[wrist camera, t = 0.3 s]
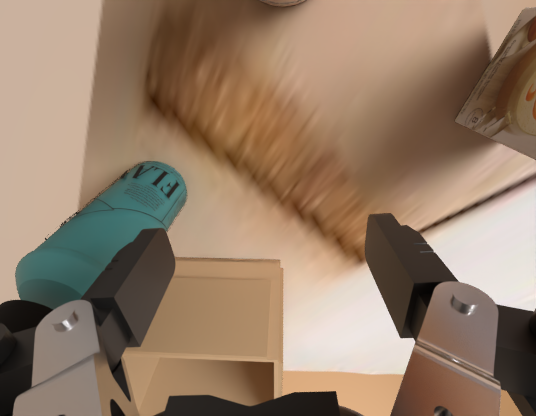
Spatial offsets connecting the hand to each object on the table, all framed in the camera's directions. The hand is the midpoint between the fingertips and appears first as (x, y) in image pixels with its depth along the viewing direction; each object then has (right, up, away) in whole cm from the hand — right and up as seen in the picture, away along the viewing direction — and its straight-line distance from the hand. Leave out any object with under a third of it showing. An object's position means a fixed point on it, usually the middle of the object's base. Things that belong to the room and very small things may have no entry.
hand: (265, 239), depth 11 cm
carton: (-7, -12, +29) cm, 32 cm away
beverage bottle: (-11, +4, +19) cm, 23 cm away
